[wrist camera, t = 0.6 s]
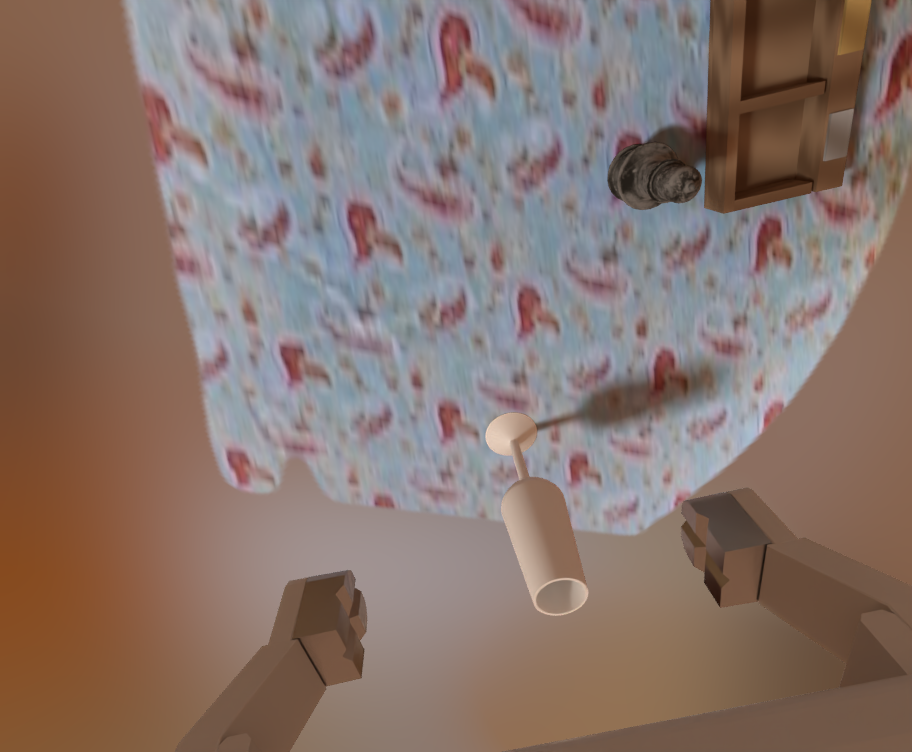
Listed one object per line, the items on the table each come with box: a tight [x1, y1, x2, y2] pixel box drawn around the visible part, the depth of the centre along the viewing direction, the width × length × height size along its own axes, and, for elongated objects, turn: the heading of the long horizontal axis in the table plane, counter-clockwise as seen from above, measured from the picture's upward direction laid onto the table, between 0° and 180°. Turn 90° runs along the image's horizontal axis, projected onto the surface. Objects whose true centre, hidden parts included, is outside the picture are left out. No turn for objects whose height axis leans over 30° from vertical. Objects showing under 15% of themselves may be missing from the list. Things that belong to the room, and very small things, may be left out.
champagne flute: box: [486, 413, 588, 616], centre depth 51 cm, size 7×7×24 cm
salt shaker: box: [608, 142, 702, 210], centre depth 43 cm, size 6×6×12 cm
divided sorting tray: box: [704, 0, 871, 213], centre depth 44 cm, size 18×12×4 cm, turn 12°
